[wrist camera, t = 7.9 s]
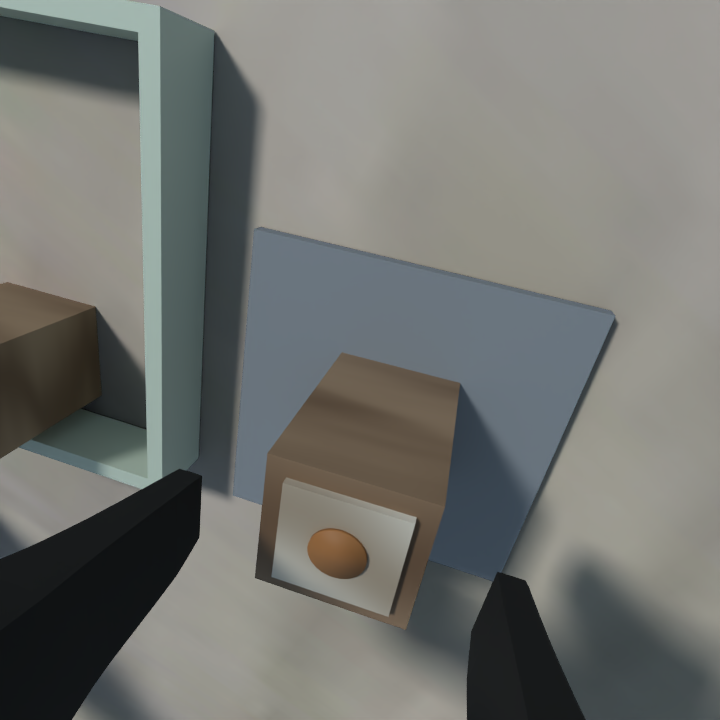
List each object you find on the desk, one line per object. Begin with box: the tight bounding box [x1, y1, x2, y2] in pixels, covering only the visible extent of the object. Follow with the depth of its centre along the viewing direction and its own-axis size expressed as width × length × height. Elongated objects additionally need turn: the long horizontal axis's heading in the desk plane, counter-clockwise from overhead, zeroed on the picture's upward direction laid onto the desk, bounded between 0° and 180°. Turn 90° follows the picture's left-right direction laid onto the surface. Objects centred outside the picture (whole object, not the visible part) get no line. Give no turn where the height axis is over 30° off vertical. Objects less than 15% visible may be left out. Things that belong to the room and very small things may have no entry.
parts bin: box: [0, 0, 214, 489], centre depth 17 cm, size 15×13×2 cm
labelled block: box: [255, 352, 460, 630], centre depth 14 cm, size 4×4×6 cm
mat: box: [233, 227, 615, 581], centre depth 17 cm, size 11×11×1 cm
